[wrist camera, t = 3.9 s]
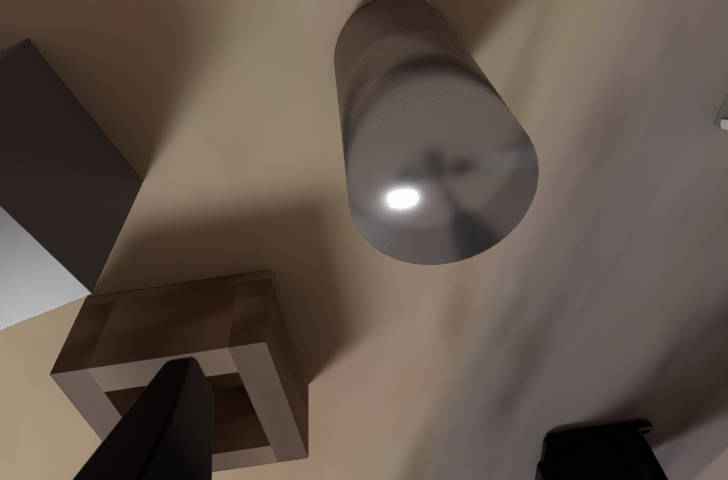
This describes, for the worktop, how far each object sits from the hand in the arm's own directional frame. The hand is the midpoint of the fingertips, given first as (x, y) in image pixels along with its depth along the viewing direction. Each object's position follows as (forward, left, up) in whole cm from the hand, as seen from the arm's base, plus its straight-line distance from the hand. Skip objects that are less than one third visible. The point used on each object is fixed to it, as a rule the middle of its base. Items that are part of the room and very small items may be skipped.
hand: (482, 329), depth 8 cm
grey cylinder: (0, 0, -12) cm, 12 cm away
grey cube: (+13, +1, -12) cm, 18 cm away
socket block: (+10, +12, -12) cm, 19 cm away
